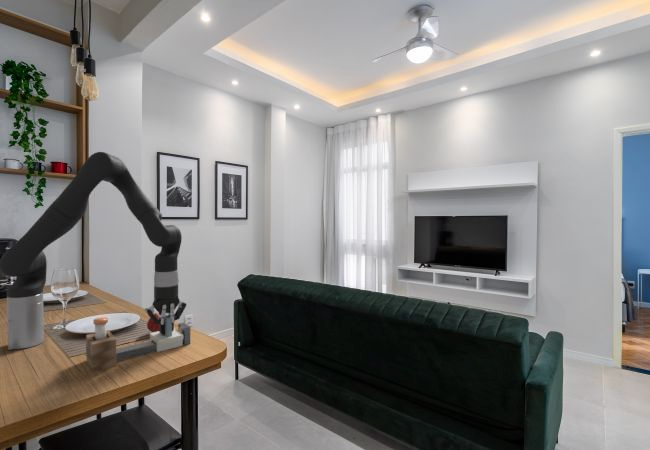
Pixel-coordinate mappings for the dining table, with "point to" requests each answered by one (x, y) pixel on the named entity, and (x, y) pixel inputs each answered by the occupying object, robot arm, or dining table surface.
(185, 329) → the rail
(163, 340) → the carriage
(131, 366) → the dining table surface
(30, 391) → the dining table surface
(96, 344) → the wooden block holder
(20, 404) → the dining table surface
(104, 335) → the white orange cylinder
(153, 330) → the onion
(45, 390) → the dining table surface
